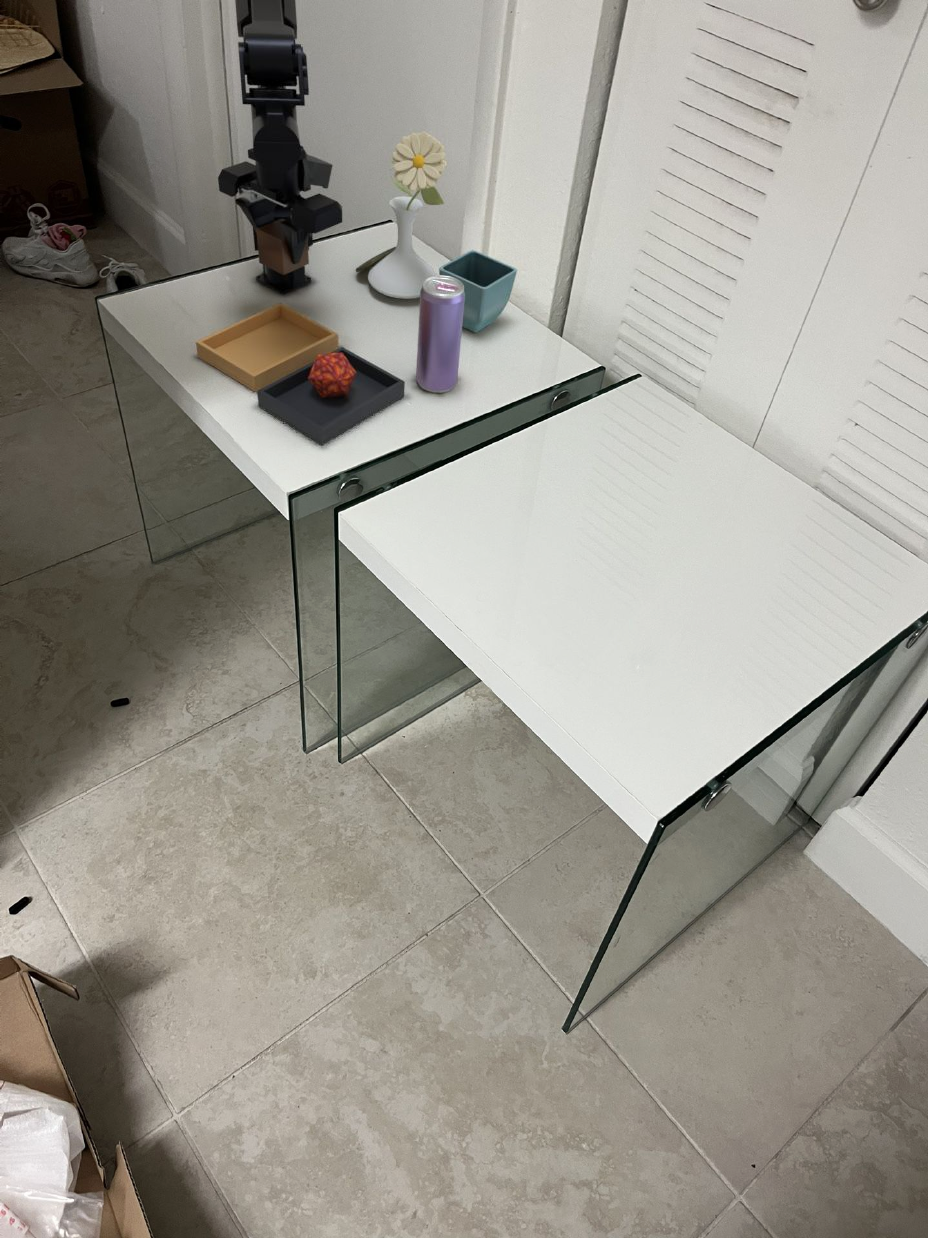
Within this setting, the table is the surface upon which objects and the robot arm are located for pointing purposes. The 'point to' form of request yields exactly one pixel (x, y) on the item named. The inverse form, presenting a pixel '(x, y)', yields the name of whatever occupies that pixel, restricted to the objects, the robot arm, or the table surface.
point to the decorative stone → (332, 375)
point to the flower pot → (481, 287)
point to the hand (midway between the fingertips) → (283, 256)
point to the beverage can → (439, 333)
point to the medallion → (374, 260)
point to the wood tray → (267, 346)
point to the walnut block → (277, 249)
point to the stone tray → (330, 399)
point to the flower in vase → (410, 215)
